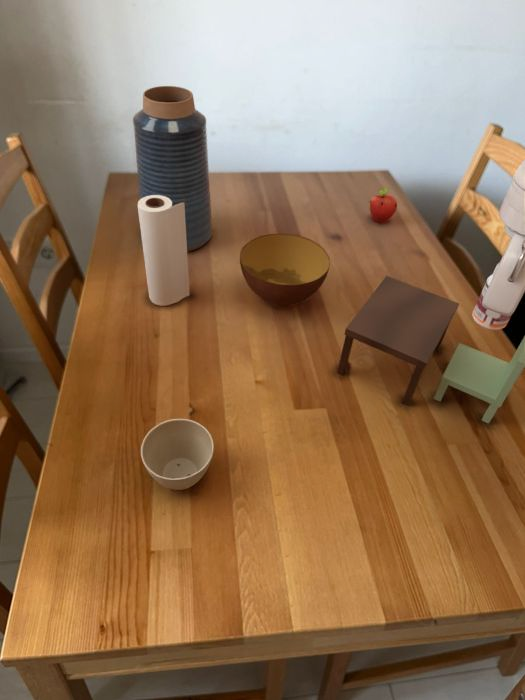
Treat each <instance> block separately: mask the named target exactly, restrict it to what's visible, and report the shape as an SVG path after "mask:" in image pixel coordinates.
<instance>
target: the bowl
mask: <svg viewBox="0 0 525 700" xmlns="http://www.w3.org/2000/svg"><path fill="white" fill-rule="evenodd" d="M239 264H240V269H241V274H242V276H243V279H244V280H245V283H246V284H247V285H248V287H249V289H250V290H251V291H252V292H253V293H254V294H255V295H257V297H259V298H260V299H261V300H263V301H264V302H266V303H268V304H270V305H272V306H275V307H278V308H279V307H280V308H286V307H287V308H288V307H290V306H294V305H299V304H301V303H304V302H305V301H306V300H308V299H311V297H312V296H314V295H315V293H317V292H318V290H319V289H320V288H321V287H322V285H324V282H325V280H326V278H327V276H328V273H329V270H330V266H331V258H330V255H329V253H328V252H327V251H326V250H325V248H324V247H323V246H322V245H320V244H319V243H317V242H316V241H314V240H312V239H310V238H307V237H305V236H303V235H302V236H301V235H297V234H292V233H283V232H279V233H278V232H277V233H267V234H263V235H259V236H256V237H254V238H252V239H251V240H248V242H246V243H245V244H244V245H243V247H242V248H241V251H240V254H239Z"/></svg>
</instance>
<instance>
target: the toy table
mask: <svg viewBox="0 0 525 700" xmlns="http://www.w3.org/2000/svg"><path fill="white" fill-rule="evenodd" d="M459 306H460V303H459V302H457V301H454V300H451V299H448V298H446V297H443V296H440V295H438V294H436V293H433V292H430V291H428V290H425V289H423V288H420V287H418V286H414V285H412V284H409V283H408V282H407V283H406V282H404V281H402V280H399V279H397V278H395V277H392V276H389V275H386V276H385V277H384V278H383V280H382V281H380V283H379V285H378V286H377V287H376V288H375V290H374V291H373V292H372V293H371V295H370V296H369V297H368V299H367V300H366V301H365V303H364V304H363V305H362V306H361V307H360V309H359V310H358V312H357V313H356V314H355V315H354V316H353V318H352V319H351V321H350V322H349V323H348V325H347V326H346V327H345V330H344V333H343V335H344V340H343V346H342V350H341V354H340V357H339V362H338V367H337V371H336V374H338V375H341V376H344V375H345V373H346V371H347V367H348V363H349V360H350V355H351V351H352V347H353V343H354V340H355V341H357V342H360V343H362V344H365V345H367V346H369V347H371V348H373V349H377V350H378V351H381V352H383V353H386V354H387V355H390V356H392V357H394V358H397V359H399V360H401V361H404V362H406V363H408V364H410V365H413V366H415V367H414V370H413V372H412V374H411V377H410V380H409V382H408V385H407V388H406V390H405V392H404V395H403V398H402V400H401V404H403V405H404V406H407V407H409V405H410V403H411V401H412V399H413V396H414V393H415V391H416V389H417V386H418V384H419V381H420V379H421V376H422V374H423V372H424V370H425V369H426V366H427V365H428V363H429V361H430V360H431V357H432V356H433V354H434V352H435V351H436V352H439V349H440V348H441V345H442V343H443V340H444V339H445V336H446V334H447V331H448V328H449V326H450V324H451V321H452V319H453V318H454V316H455V314H456V312H457V311H458V309H459Z"/></svg>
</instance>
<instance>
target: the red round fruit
mask: <svg viewBox="0 0 525 700" xmlns="http://www.w3.org/2000/svg"><path fill="white" fill-rule="evenodd" d="M388 190H389V188H385V189H379V190H378V193H379V194H378V195H375V196H373V197H372V198H371V200H370V201H369V212H370V217H371V219H372V220H373V222H375V223H379V224H386V223H387V222H388V221H389V220H390V219H392V217H393V216H394V215H395V213H396V211H397V210H398V209H397V208H398V201H397V199H396V198H395V196H393V195H389V194H387V192H388Z"/></svg>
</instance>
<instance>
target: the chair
mask: <svg viewBox="0 0 525 700" xmlns="http://www.w3.org/2000/svg"><path fill="white" fill-rule="evenodd" d="M524 369H525V335H524V336H523V338H522V339H521V342H520V344H519V345H518V347H517V348H516V351H515V352H514V354H513V356H512V357H511V359H510V361H509V362H508V361H505V360H503V359H500V358H497V357H495V356H493V355H490V354H488V353H485V352H483V351H481V350H478V349H476V348H473V347H471V346H469V345H467V344H463V343H462V342H458V344H457V347H456V348H455V350H454V352H453V354H452V356H451V358H450V359H449V362H448V364H447V366H446V368H445V370H444V372H443V374H442V376H441V378H440V383H439V386H438V387H437V391H436V393H435V394H434V397H433V400H434V401H437V402H441V401H442V399H443V398H444V395H445V393H446V390H447V389H448V386H450V387H452V388H454V389H457V390H459V391H461V392H463V393H466V394H468V395H470V396H472V397H475V398H476V399H479V400H481V401H484V402H486V403H488V404H489V405H488V407H487V409H486V411H485V412H484V415H483V416H482V418H481V421H482V422H484V423H485V424H488V425H489V424H490V423H491V420H492V419H493V418H494V416H495V415H496V413H497V410H498V409H499V408H501V407H502V405H503V404H504V402H505V401H506V398H508V395H509V394H510V392H511V391H512V389H513V387H514V386H515V384H516V382H517V381H518V379H519V377H520V375H521V374H522V373H523V370H524Z"/></svg>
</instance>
